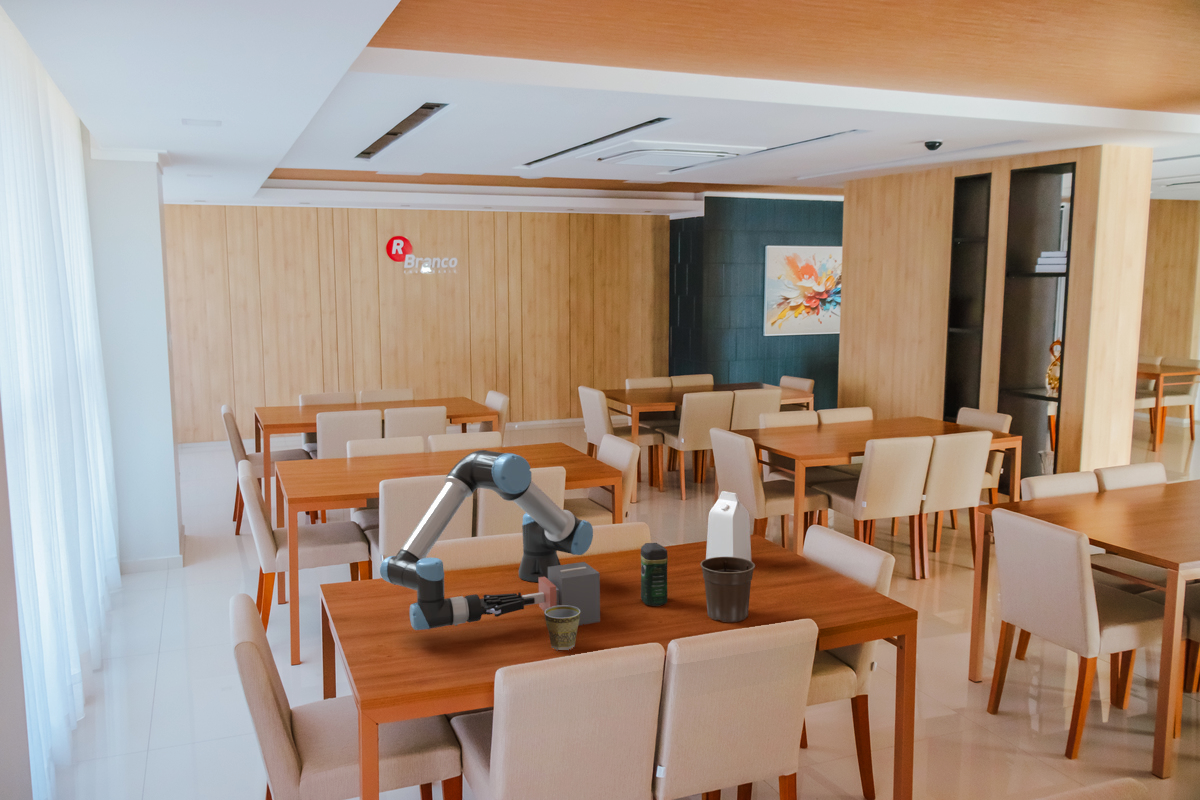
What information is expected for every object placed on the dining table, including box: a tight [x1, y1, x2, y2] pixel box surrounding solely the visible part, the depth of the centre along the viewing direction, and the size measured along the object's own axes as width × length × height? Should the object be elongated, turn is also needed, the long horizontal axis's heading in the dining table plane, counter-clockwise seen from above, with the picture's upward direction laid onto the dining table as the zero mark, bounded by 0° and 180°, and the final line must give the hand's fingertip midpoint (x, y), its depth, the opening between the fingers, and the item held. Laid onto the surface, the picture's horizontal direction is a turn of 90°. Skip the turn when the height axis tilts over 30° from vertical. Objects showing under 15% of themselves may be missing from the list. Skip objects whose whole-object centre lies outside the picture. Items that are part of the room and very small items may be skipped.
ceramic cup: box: [543, 605, 580, 651], centre depth 236 cm, size 13×10×10 cm
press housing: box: [548, 561, 601, 626], centre depth 255 cm, size 12×12×15 cm
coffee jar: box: [640, 542, 669, 607], centre depth 268 cm, size 10×8×19 cm
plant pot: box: [700, 557, 756, 623], centre depth 256 cm, size 16×16×16 cm
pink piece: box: [538, 577, 559, 612], centre depth 254 cm, size 14×10×9 cm
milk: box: [705, 490, 752, 562], centre depth 307 cm, size 12×12×26 cm
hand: (543, 597), depth 251 cm, fingers closed
